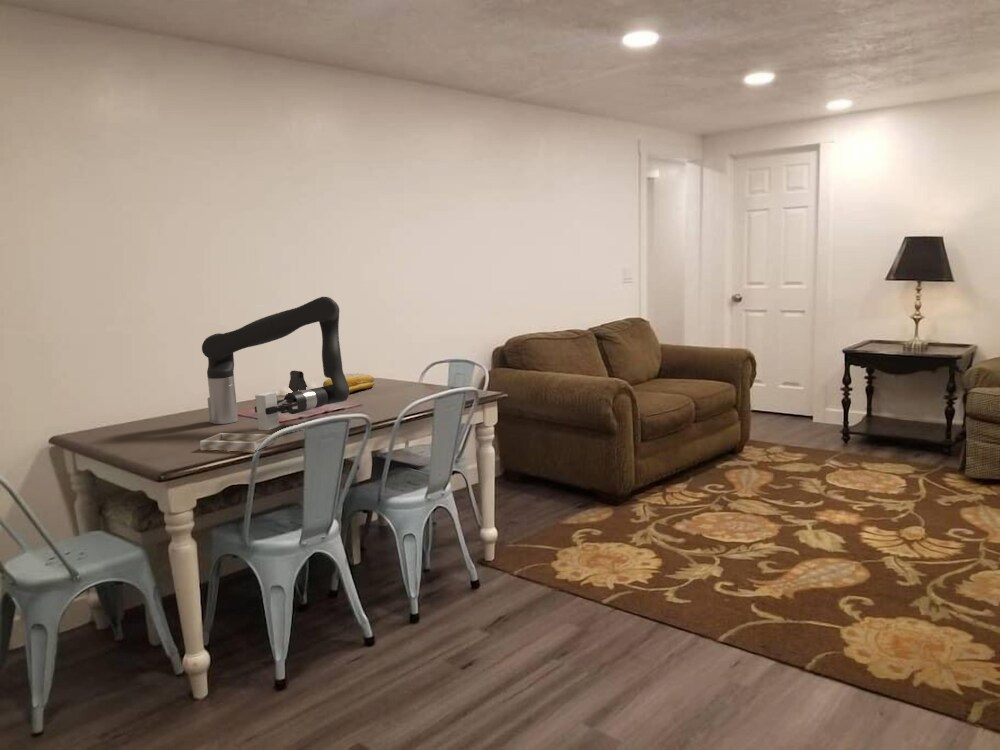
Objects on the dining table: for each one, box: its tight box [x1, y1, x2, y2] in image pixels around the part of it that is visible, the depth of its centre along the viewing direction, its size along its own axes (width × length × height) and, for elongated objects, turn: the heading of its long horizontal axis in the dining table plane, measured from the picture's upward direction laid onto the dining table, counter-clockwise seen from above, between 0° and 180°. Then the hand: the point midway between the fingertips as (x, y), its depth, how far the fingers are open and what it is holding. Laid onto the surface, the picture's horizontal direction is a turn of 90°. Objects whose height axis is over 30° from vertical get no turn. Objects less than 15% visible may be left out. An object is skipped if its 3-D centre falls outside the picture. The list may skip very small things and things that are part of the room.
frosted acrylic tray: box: [199, 432, 271, 453], centre depth 244 cm, size 20×11×3 cm, turn 75°
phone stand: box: [288, 369, 308, 392], centre depth 323 cm, size 9×6×12 cm, turn 136°
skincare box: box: [254, 391, 280, 431], centre depth 254 cm, size 6×4×12 cm
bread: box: [322, 372, 375, 394], centre depth 335 cm, size 13×26×8 cm, turn 153°
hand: (260, 410), depth 252 cm, fingers closed on skincare box, 5 cm apart
